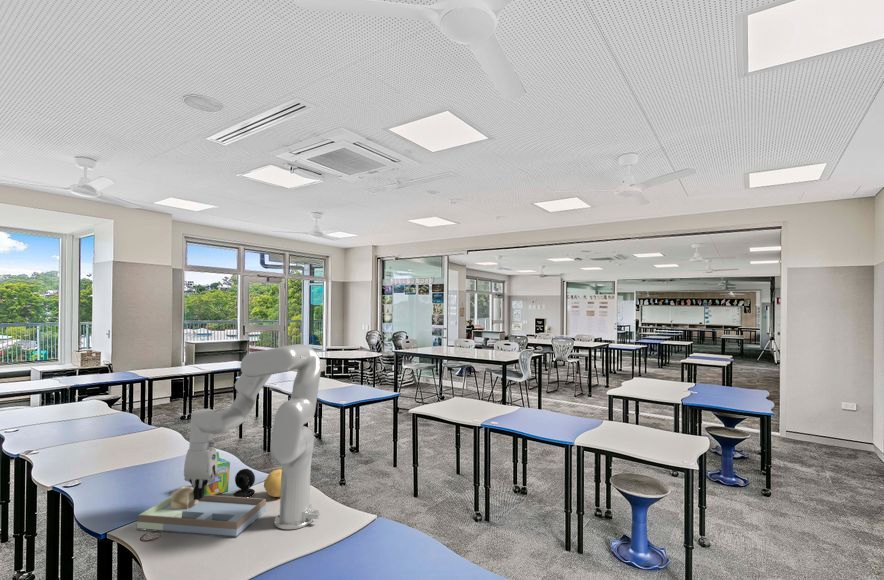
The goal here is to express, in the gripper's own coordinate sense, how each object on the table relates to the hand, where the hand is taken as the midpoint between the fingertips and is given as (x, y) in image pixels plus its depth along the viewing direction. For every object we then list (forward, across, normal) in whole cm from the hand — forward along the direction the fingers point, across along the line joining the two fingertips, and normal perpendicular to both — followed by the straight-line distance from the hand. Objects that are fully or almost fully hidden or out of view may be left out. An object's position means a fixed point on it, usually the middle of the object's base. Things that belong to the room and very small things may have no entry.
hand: (198, 498), depth 151 cm
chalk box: (+5, +6, -18) cm, 19 cm away
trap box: (+5, -6, +4) cm, 9 cm away
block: (+3, +5, 0) cm, 6 cm away
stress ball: (+5, -20, -18) cm, 27 cm away
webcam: (+5, -8, -16) cm, 19 cm away
